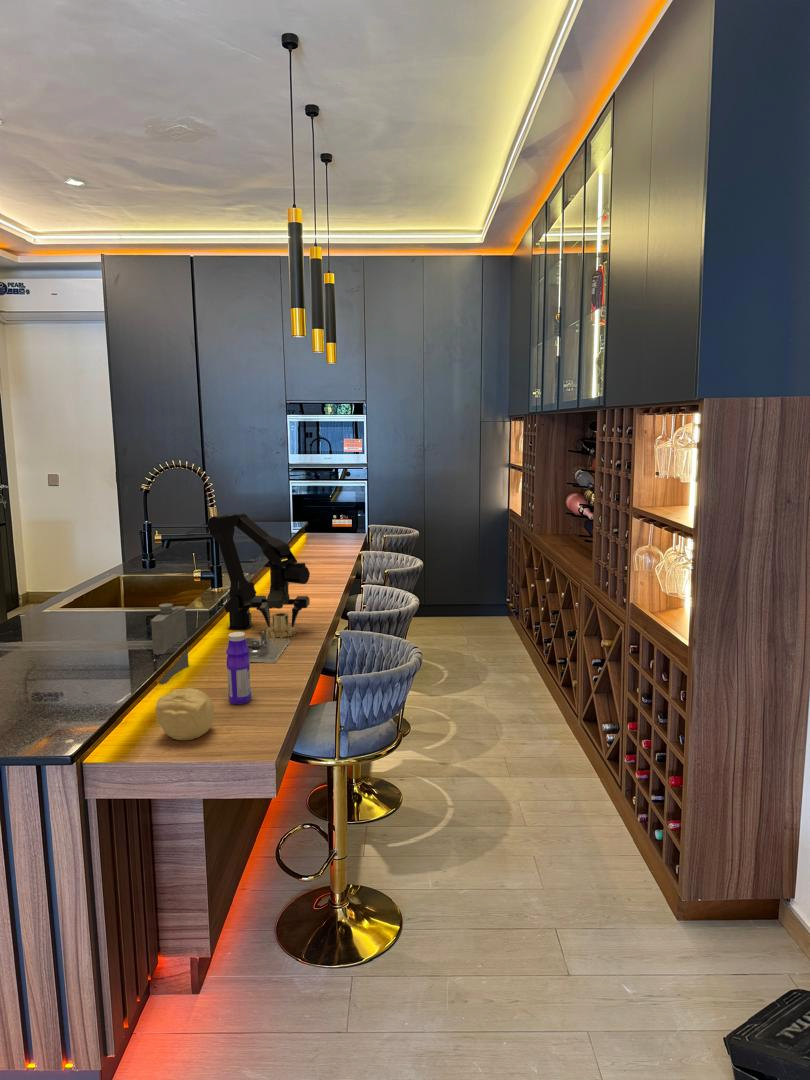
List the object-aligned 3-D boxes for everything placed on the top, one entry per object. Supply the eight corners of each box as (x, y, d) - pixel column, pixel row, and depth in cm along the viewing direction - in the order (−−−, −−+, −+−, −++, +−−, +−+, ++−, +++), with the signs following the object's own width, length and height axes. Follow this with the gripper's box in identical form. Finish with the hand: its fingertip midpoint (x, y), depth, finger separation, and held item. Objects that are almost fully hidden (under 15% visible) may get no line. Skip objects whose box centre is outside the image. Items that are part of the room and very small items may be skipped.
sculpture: (150, 744, 154) (147, 697, 152) (176, 721, 165) (173, 677, 163) (200, 748, 152) (197, 700, 150) (222, 724, 163) (220, 680, 162)
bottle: (252, 704, 175) (249, 636, 172) (229, 707, 174) (225, 639, 171) (250, 693, 182) (247, 628, 179) (227, 696, 180) (224, 630, 178)
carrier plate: (227, 662, 206) (226, 645, 205) (247, 641, 226) (246, 626, 225) (274, 663, 205) (274, 646, 204) (290, 642, 225) (289, 626, 224)
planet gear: (262, 638, 229) (261, 618, 228) (269, 629, 239) (269, 610, 238) (293, 638, 229) (292, 619, 228) (299, 629, 239) (299, 610, 238)
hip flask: (164, 684, 189) (159, 612, 186) (150, 683, 190) (145, 611, 186) (190, 664, 205) (186, 597, 201) (177, 664, 205) (173, 597, 202)
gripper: (244, 586, 224) (246, 633, 226) (302, 586, 223) (303, 634, 225) (253, 578, 235) (255, 624, 237) (309, 579, 234) (310, 624, 236)
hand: (281, 627), depth 234 cm, fingers open, 8 cm apart
